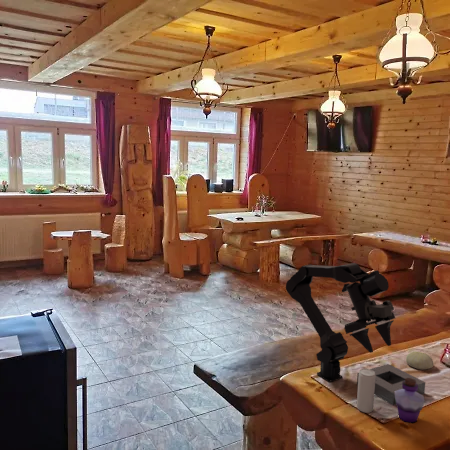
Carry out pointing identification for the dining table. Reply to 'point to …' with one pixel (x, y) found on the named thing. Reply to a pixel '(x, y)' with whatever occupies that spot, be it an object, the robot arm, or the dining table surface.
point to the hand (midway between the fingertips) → (380, 348)
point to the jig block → (393, 376)
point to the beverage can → (366, 390)
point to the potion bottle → (409, 401)
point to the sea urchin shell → (419, 360)
